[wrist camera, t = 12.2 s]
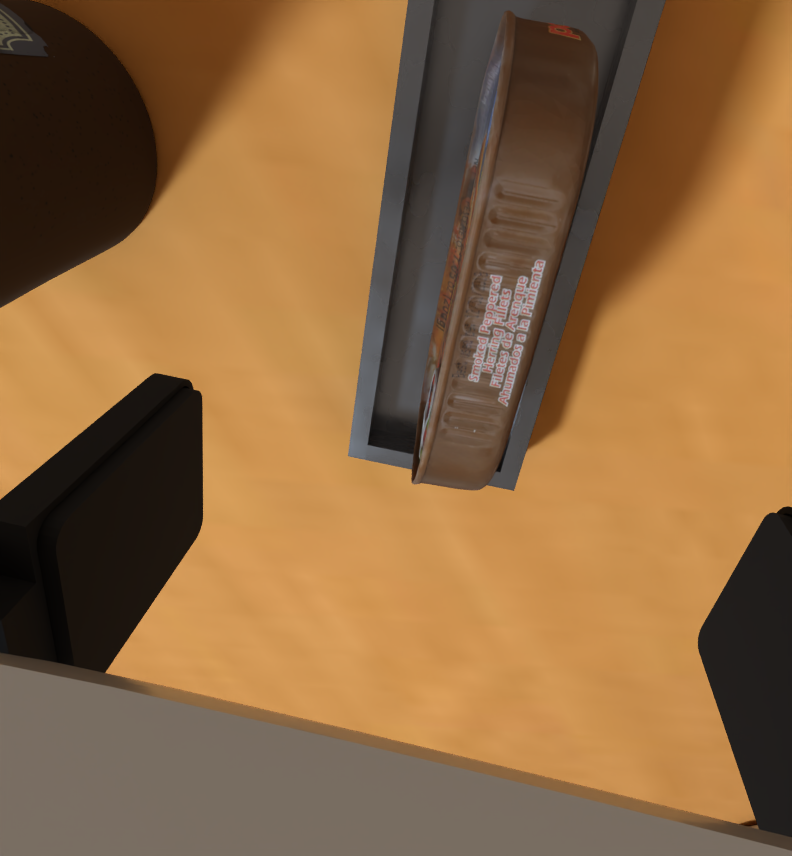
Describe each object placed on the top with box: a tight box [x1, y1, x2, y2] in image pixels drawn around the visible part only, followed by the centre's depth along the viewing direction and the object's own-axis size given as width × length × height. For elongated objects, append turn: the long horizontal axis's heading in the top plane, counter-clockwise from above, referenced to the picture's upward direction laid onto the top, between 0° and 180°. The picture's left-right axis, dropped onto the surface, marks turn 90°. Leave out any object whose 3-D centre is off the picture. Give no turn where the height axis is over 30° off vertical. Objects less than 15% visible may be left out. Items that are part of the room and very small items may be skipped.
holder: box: [348, 0, 666, 491], centre depth 24 cm, size 8×20×2 cm, turn 171°
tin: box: [412, 10, 599, 490], centre depth 21 cm, size 15×3×8 cm, turn 171°
